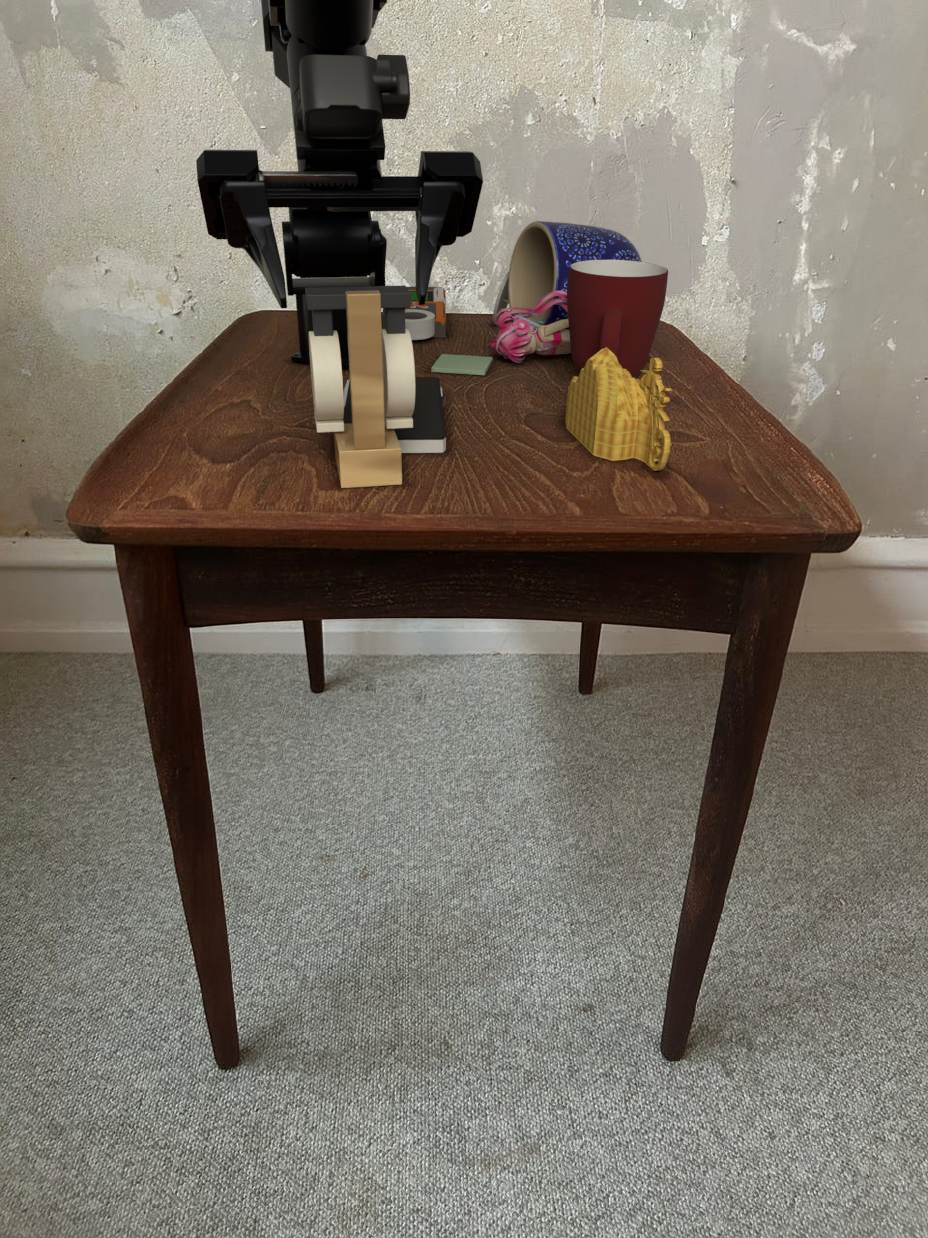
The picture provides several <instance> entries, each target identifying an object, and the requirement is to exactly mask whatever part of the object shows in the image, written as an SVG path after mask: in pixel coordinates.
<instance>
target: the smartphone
mask: <svg viewBox="0 0 928 1238" xmlns="http://www.w3.org/2000/svg"><path fill="white" fill-rule="evenodd" d="M343 394H344V418H343V421H344V424H349V423H352V411H351V392H350V377H347V380H346V383H345V385H344V387H343ZM443 403H444V395H443V387H442V386H441V381H440V378H439V377H435V376H415V407H414V412H413V415H412V416H411V417H412V419H413V428H398V429H394V431H395V433H396V436H397V439H398V441H399V444H400V447H401V454H444V452H446V451H447V433H446V425H445V416H444V408H443Z"/></svg>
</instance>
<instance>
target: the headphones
mask: <svg viewBox="0 0 928 1238" xmlns="http://www.w3.org/2000/svg"><path fill="white" fill-rule="evenodd" d="M374 290H378V291H379V292H380V294H381V309H383V308H384V325H385V329H382V350H383V381H384V413H385V425H386V428H387V429H398V428H413V419H412V417H411V416H412V415H413V412H414V407H415V377H416V365H415V364H416V363H415V355H414V347H413V340H411V335H410V332H409V330H408V329H406V328H405V308H410V307H411V293H410V292H409V290H408V289H407V287H406V285H385V286H358V287H309V288H305V293H306V303H307V308H308V310H312V320H313V331H309V354H310V363H309V366H310V379H311V380H310V381H311V391H312V401H313V409H314V410H313V413H314V415H313V416H314V422H315V428H316V429H315V430H316V433H334V432H339V431H344V421H343V418H344V394H343V393H344V377H343V368H342V364H341V353H340V345H339V337H338V333H337V331H336V330H334V331H333V320H332V310H335V309H346V295H345V292H346V291H374Z"/></svg>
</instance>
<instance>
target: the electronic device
mask: <svg viewBox="0 0 928 1238" xmlns="http://www.w3.org/2000/svg"><path fill="white" fill-rule="evenodd" d="M405 286H406V285H405ZM406 287H407V289H408V290H409V292H410V293H411V307H410V308H405V328H406V329H408V330H409V332H410V335H411V340H412V341H418V340H427V339H430V338H443V339H444V338H447V337H446V336H447V335H446V334H447V297H446V296H447V295H446V289H445V288H443V286H428V291H427V295H426V300H425V305H419V303H418V299H417V294H416V286H406ZM381 318H382V329H385V325H384V308H382V311H381Z"/></svg>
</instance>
